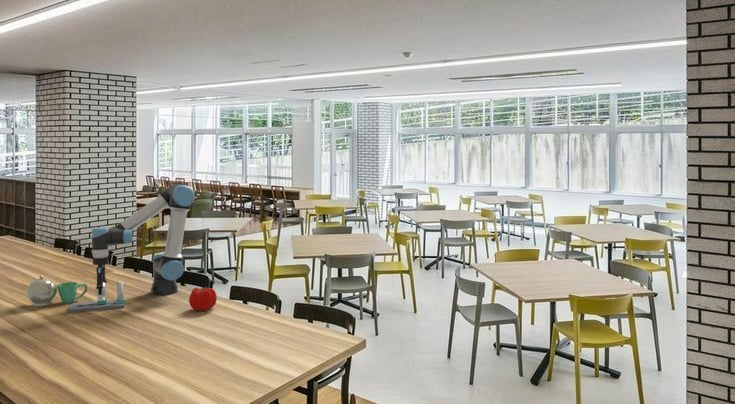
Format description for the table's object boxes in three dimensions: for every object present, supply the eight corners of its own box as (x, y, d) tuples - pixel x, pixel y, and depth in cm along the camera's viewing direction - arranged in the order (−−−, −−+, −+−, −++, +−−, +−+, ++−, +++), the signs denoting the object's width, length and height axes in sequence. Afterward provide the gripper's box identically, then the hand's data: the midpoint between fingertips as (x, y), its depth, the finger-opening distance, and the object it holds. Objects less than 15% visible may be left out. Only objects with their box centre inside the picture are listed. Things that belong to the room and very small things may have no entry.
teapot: (63, 304, 287) (62, 274, 286) (38, 310, 275) (37, 279, 274) (42, 299, 295) (41, 270, 294) (17, 305, 283) (16, 275, 281)
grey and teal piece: (125, 301, 292) (125, 279, 291) (124, 307, 281) (123, 284, 280) (72, 306, 283) (71, 283, 282) (68, 312, 272) (67, 288, 271)
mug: (58, 305, 284) (58, 287, 283) (56, 301, 292) (56, 283, 291) (89, 301, 292) (88, 283, 292) (86, 297, 300) (86, 280, 300)
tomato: (221, 307, 284) (221, 286, 283) (203, 314, 271) (202, 292, 270) (202, 304, 289) (202, 283, 288) (183, 311, 276) (182, 289, 275)
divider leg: (106, 301, 285) (106, 282, 284) (106, 303, 282) (105, 283, 281) (97, 302, 283) (97, 282, 282) (97, 304, 281) (96, 284, 280)
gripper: (95, 253, 290) (96, 293, 292) (89, 261, 268) (91, 304, 270) (110, 252, 293) (111, 291, 294) (106, 260, 271) (107, 302, 273)
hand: (101, 297), depth 282 cm, fingers open, 10 cm apart
